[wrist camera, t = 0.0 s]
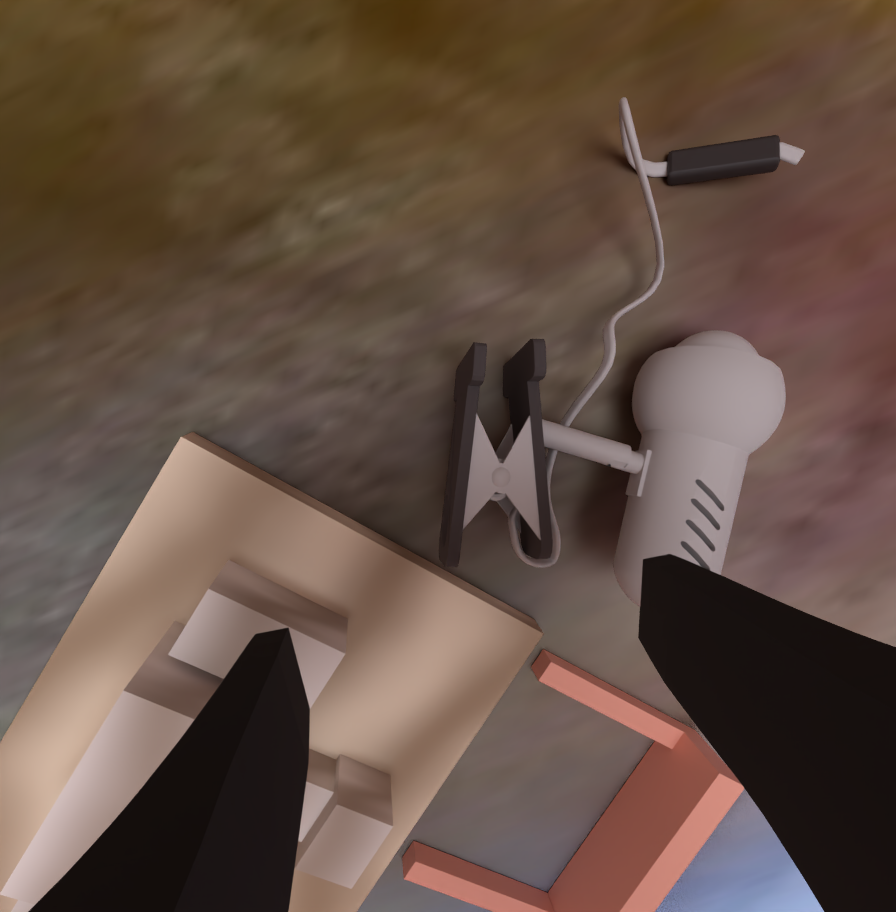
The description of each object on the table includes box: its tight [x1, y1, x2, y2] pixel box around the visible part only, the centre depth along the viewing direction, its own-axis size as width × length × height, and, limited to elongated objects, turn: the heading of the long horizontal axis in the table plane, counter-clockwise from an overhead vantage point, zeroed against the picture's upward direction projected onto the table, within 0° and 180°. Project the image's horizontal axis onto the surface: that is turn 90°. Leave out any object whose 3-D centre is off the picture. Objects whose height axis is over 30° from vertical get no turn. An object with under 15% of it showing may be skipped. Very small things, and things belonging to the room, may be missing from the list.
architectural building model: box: [0, 432, 544, 912], centre depth 18 cm, size 16×20×5 cm
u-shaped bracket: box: [402, 649, 744, 912], centre depth 22 cm, size 10×12×3 cm
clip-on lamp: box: [439, 97, 805, 606], centre depth 18 cm, size 12×6×18 cm
